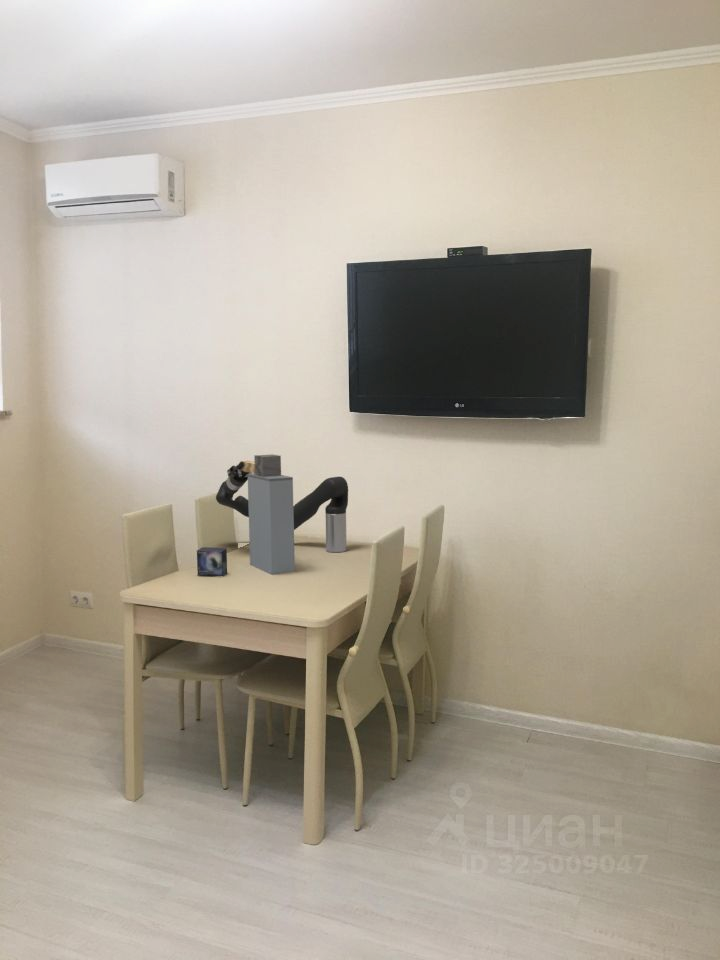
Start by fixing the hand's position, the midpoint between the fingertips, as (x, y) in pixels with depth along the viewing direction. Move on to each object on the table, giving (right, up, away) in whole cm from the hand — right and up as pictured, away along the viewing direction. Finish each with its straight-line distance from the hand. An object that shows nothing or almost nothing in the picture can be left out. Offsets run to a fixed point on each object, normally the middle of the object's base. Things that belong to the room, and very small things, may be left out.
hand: (249, 463), depth 346 cm
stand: (+11, -43, -13) cm, 46 cm away
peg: (+4, -4, -7) cm, 9 cm away
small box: (-12, -45, -23) cm, 52 cm away
